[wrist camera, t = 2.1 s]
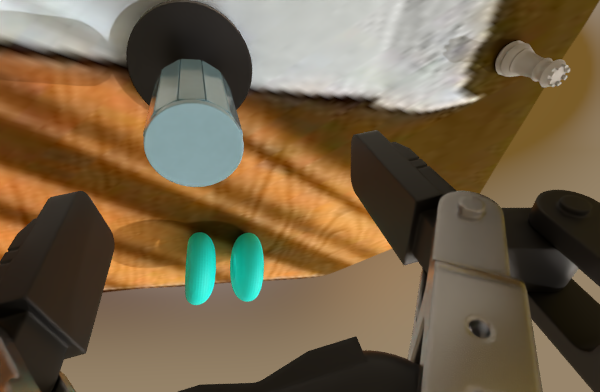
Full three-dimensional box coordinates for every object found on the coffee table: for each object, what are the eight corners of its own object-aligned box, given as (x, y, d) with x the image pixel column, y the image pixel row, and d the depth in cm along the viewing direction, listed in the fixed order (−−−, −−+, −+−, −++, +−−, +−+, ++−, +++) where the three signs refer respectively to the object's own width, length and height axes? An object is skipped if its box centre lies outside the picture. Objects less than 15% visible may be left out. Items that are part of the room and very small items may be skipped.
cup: (143, 108, 26) (127, 166, 19) (174, 43, 24) (169, 83, 17) (210, 139, 29) (216, 198, 23) (243, 84, 27) (261, 132, 20)
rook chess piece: (520, 66, 44) (572, 85, 38) (491, 79, 44) (538, 101, 38) (525, 33, 41) (582, 49, 35) (494, 48, 42) (545, 66, 36)
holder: (110, 85, 32) (59, 179, 19) (158, -32, 28) (133, -10, 15) (217, 136, 39) (231, 232, 26) (270, 48, 34) (320, 112, 21)
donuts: (246, 263, 54) (256, 314, 47) (184, 264, 50) (184, 321, 43) (258, 219, 49) (270, 269, 41) (189, 217, 45) (189, 272, 38)
